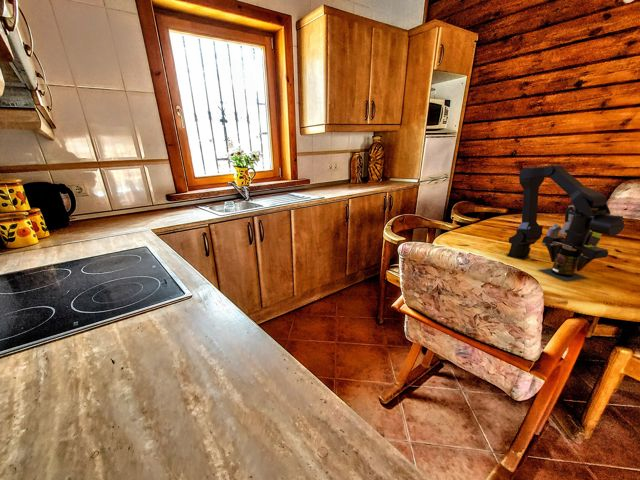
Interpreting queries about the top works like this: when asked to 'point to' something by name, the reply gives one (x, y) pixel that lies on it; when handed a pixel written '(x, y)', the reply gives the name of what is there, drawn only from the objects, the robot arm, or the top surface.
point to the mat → (563, 276)
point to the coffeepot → (567, 220)
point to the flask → (553, 230)
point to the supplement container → (566, 261)
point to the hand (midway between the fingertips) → (565, 266)
